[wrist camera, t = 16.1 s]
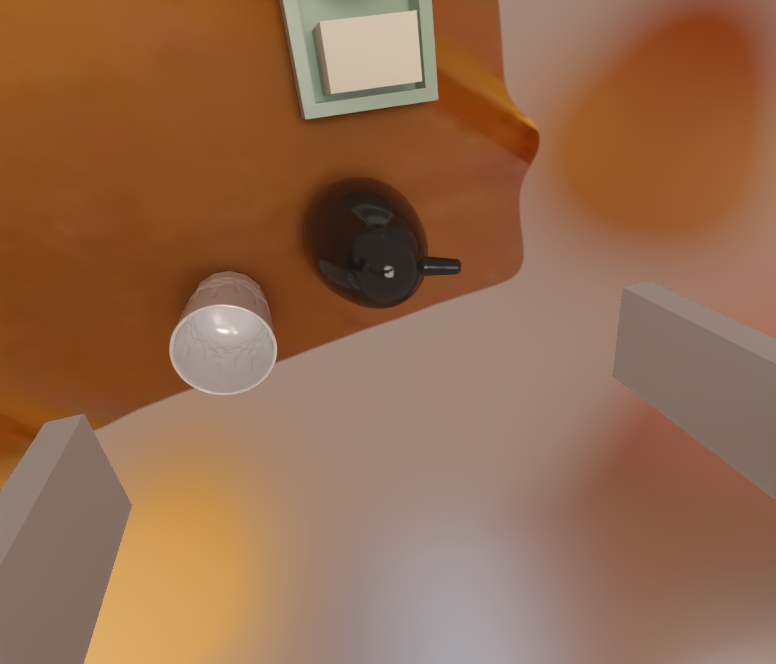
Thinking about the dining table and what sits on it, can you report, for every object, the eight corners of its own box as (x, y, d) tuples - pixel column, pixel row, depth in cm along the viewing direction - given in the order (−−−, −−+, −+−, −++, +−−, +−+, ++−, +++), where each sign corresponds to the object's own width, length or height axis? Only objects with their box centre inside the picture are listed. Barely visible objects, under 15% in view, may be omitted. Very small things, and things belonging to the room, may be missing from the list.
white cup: (263, 257, 44) (265, 295, 35) (280, 332, 48) (285, 383, 39) (174, 272, 43) (154, 316, 34) (199, 348, 46) (186, 405, 38)
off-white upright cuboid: (322, 95, 39) (331, 94, 34) (311, 30, 37) (319, 21, 32) (403, 83, 40) (422, 81, 36) (397, 20, 38) (416, 10, 34)
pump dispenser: (407, 273, 48) (464, 337, 35) (304, 283, 46) (325, 356, 33) (406, 168, 44) (472, 197, 31) (293, 174, 42) (312, 208, 28)
